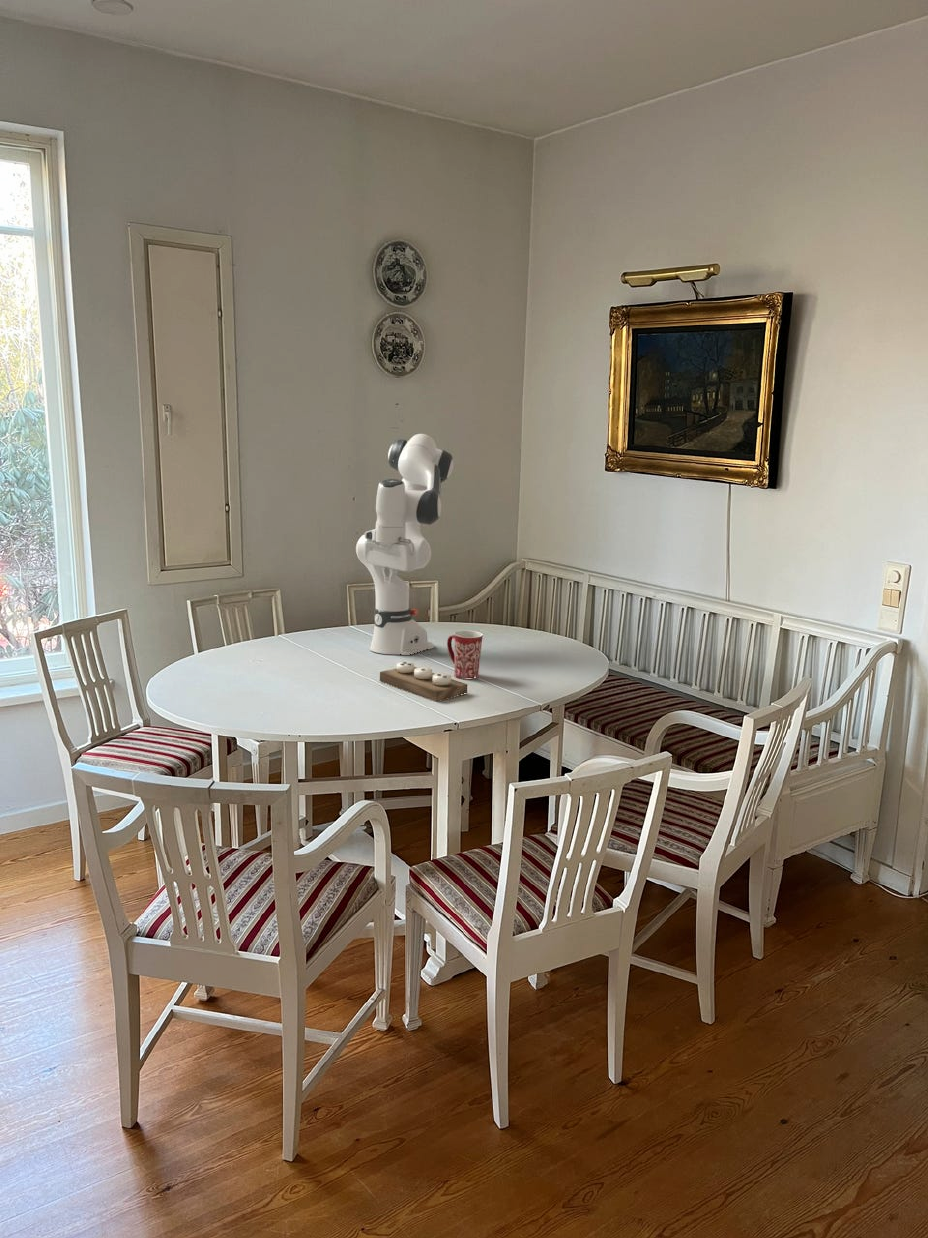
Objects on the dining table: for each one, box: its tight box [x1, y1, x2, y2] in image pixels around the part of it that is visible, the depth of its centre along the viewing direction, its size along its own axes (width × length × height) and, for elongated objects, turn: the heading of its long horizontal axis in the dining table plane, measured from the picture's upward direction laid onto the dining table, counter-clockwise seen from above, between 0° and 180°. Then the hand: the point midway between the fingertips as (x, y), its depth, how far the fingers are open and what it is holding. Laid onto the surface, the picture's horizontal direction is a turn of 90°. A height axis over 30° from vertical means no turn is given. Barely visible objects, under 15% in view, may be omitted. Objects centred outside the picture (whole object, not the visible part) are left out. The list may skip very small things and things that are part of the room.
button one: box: [414, 667, 433, 679], centre depth 274 cm, size 5×5×2 cm
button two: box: [432, 673, 452, 685], centre depth 269 cm, size 5×5×2 cm
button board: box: [379, 666, 469, 703], centre depth 275 cm, size 12×25×3 cm, turn 44°
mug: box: [446, 629, 484, 679], centre depth 289 cm, size 13×9×14 cm
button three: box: [396, 661, 415, 673], centre depth 280 cm, size 5×5×2 cm
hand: (389, 582), depth 279 cm, fingers closed
